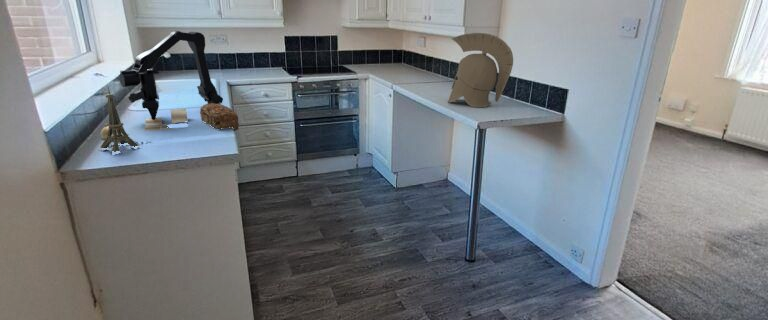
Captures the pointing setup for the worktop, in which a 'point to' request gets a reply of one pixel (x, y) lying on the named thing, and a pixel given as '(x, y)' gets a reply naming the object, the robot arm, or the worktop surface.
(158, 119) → the oak plank
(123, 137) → the eiffel tower
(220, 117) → the bread
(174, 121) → the oak plank
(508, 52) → the helmet
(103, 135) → the onion
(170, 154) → the worktop surface
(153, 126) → the cardboard box
